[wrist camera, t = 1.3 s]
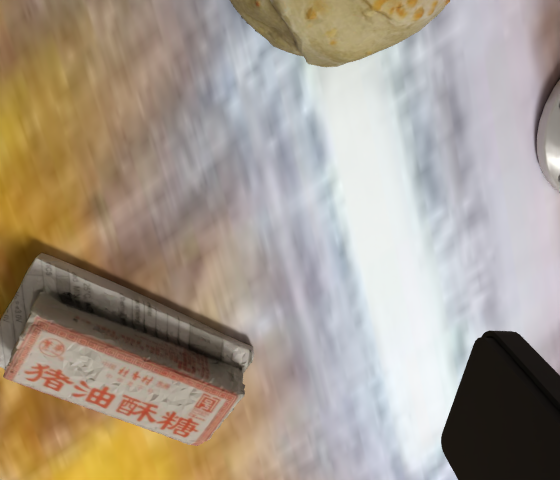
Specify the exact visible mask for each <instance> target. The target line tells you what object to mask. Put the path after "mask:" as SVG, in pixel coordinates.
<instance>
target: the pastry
mask: <svg viewBox="0 0 560 480" xmlns="http://www.w3.org/2000/svg"><path fill="white" fill-rule="evenodd" d="M230 1H231V3H232V4H233V6H234V7H235V9H236V10H237V11H238V12H239V14H240V15H241V17H242V18H244V19H245V21H246V22H247V23H248V24H249V25H251V26H252V27H253V28H254V29H255V31H257V32H258V33H260V34H261V35H262V36H263V37H264V38H266V39H267V40H268V41H269V42H270V43H271V44H272V45H273V46H274V47H277V48H279V49H281V50H284V51H286V52H289V53H292V54H295V55H299V56H304V58H305V59H306V62H307V63H308V64H311V65H317V66H321V67H337V66H340V65H343V64H345V63H348V62H352V61H356V60H359V59H362V58H364V57H367V56H369V55H372V54H374V53H376V52H378V51H381V50H383V49H386V48H388V47H391V46H393V45H395V44H397V43H399V42H401V41H403V40H404V39H406V38H408V37H410V36H411V35H413V34H415V33H417V32H418V31H420V30H421V29H422V28H423V27H424V26H426V25H427V24H428V23H429V22H430V21H431V20H432V19H434V18H435V17H436V16H437V15H438V14H439V13H440V12H441V11H442V10H443V9H444V7H445V6H446V5H447V4H448V3H449V2H450V0H230Z"/></svg>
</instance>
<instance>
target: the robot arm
mask: <svg viewBox="0 0 560 480" xmlns="http://www.w3.org/2000/svg"><path fill="white" fill-rule="evenodd" d="M537 155H538V160H539V164H540V168H541V170H542V172H543V174H544V176H545V178H546V180H547V181H548V182H549V183H550V184H551V186H552V187H553V188H554V189H555V190H557V191H558V192H560V80H559V81H558V83H557V84H556V85H555V87H554V88H553V90H552V92H551V94H550V96H549V98H548V100H547V102H546V104H545V107H544V110H543V113H542V115H541V118H540V122H539V128H538V134H537ZM441 445H442V449H443V452H444V455H445V456H446V458H447V460H448V462H449V464H450V465H451V467H452V469H453V471H454V473H455V475H456V476H457V478H458V480H560V375H559V374H558V373H557V372H556V371H555V370H554V369H553V368H552V367H551V366H550V365H549V364H548V363H547V362H546V361H545V360H544V359H543V358H542V357H541V356H540V355H539V354H538V353H537V352H536V351H535V350H534V349H533V348H532V347H531V346H530V345H529V344H528V343H527V342H526V341H525V340H524V339H523V337H522V336H521V335H519V334H518V333H517V332H512V331H487V332H485V333H484V334H483V335H482V337H481V338H478V339H477V340H476V341H475V343H474V345H473V348H472V351H471V354H470V357H469V360H468V362H467V365H466V368H465V371H464V374H463V376H462V379H461V382H460V385H459V388H458V390H457V393H456V396H455V399H454V402H453V405H452V407H451V410H450V413H449V416H448V419H447V421H446V424H445V427H444V430H443V433H442V437H441Z"/></svg>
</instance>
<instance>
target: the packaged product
mask: <svg viewBox="0 0 560 480" xmlns="http://www.w3.org/2000/svg"><path fill="white" fill-rule="evenodd" d="M253 357H254V350H253V347H252V346H250V345H248V344H245V343H243V342H241V341H239V340H236V339H234V338H232V337H230V336H227V335H224V334H222V333H220V332H218V331H216V330H214V329H212V328H210V327H208V326H206V325H205V324H203V323H201V322H199V321H197V320H195V319H193V318H191V317H189V316H186V315H184V314H182V313H179V312H177V311H175V310H173V309H171V308H169V307H167V306H165V305H162V304H160V303H158V302H156V301H154V300H152V299H150V298H148V297H146V296H143V295H141V294H139V293H137V292H135V291H132V290H130V289H128V288H125V287H123V286H121V285H119V284H117V283H115V282H112V281H110V280H108V279H105V278H103V277H100V276H98V275H96V274H93V273H91V272H89V271H86V270H84V269H81V268H79V267H77V266H74V265H72V264H69V263H67V262H65V261H62V260H60V259H58V258H55V257H53V256H50V255H47V254H44V253H41V254H39V255H38V256H37V257H36V258H35V260H34V261H33V263H32V264H31V266H30V267H29V269H28V270H27V272H26V275H25V277H24V279H23V281H22V283H21V285H20V287H19V289H18V291H17V293H16V295H15V297H14V298H13V300H12V301H11V303H10V305H9V306H8V308H7V309H6V311H5V313H4V315H3V316H2V318H1V320H0V367H2V368H4V369H5V373H4V376H3V377H4V378H6V379H8V380H11V381H14V382H16V383H19V384H21V385H24V386H26V387H29V388H32V389H35V390H37V391H40V392H43V393H46V394H49V395H51V396H54V397H57V398H59V399H62V400H65V401H68V402H71V403H74V404H77V405H80V406H83V407H86V408H89V409H92V410H95V411H97V412H100V413H103V414H106V415H109V416H111V417H114V418H117V419H120V420H123V421H125V422H128V423H131V424H134V425H137V426H140V427H142V428H145V429H148V430H151V431H153V432H156V433H160V434H163V435H165V436H167V437H170V438H172V439H175V440H178V441H181V442H183V443H186V444H189V445H195V446H198V445H200V444H201V443H203V442H204V441H207V440H209V439H210V438H211V437H212V435H213V433H214V432H215V430H216V429H218V428H219V427H220V425H221V423H222V422H223V421H224V419H226V418H227V417H228V415H229V414H230V413H231V412H232V411H233V410H234V407H235V405H236V404H237V403H238V402H239V401H240V400H241V399H242V398H243V397H244V394H245V392H244V388H245V385H244V384H243V383H242V382H243V373H244V372H245V370H246V369H247V368H248V366H249V365H250V363H252V361H253Z"/></svg>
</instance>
